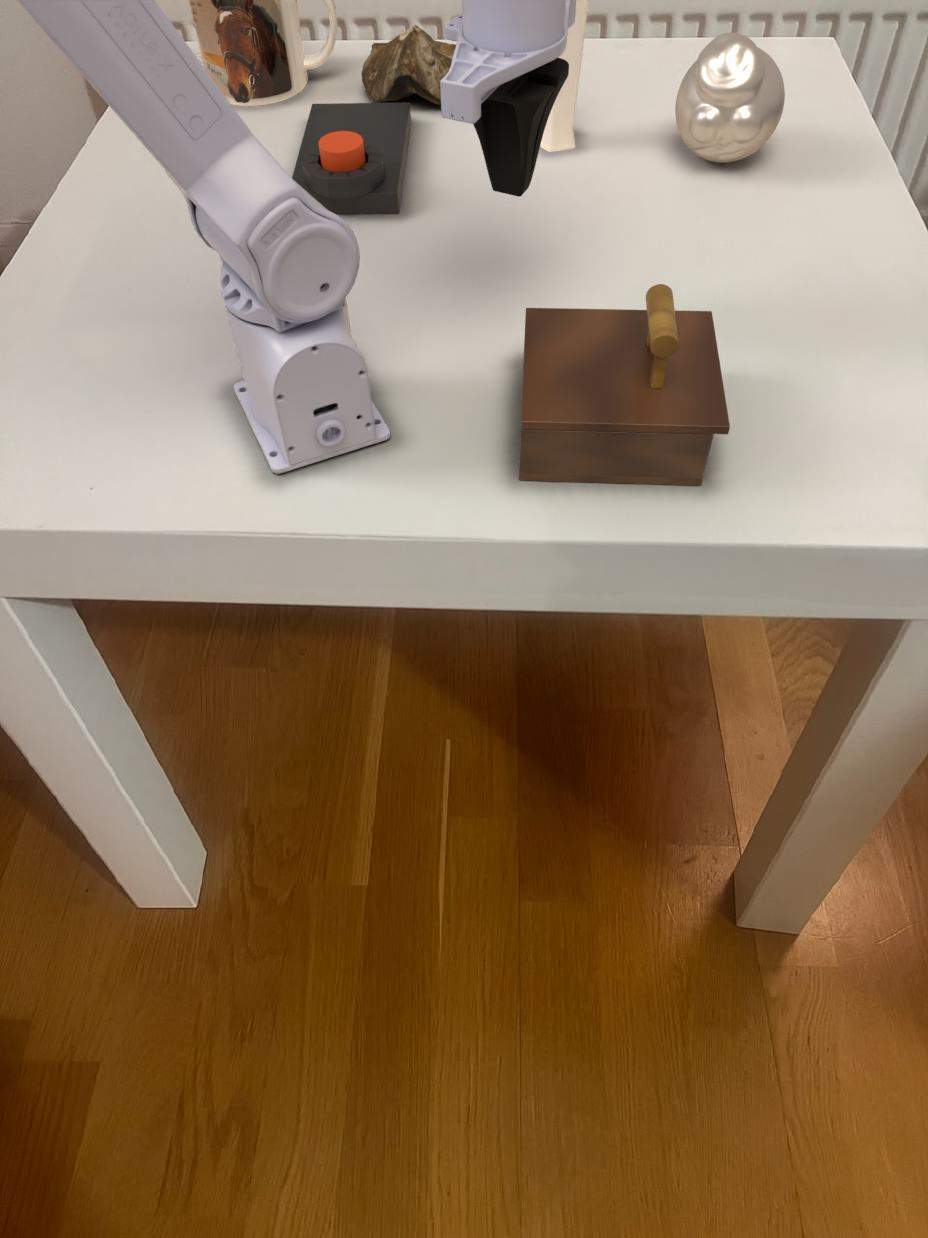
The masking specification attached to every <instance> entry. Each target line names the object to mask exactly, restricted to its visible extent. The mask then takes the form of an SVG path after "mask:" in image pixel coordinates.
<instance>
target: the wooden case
mask: <svg viewBox="0 0 928 1238" xmlns="http://www.w3.org/2000/svg"><path fill="white" fill-rule="evenodd" d="M714 435H715V434H693V433H655V432H617V431H579V430H541V429H521V428H520V436H519V439H520V440H519V467H518V480H519V481H529V482H535V481H537V482H568V483H569V482H570V483H599V484H601V483H603V484H630V485H631V484H635V485H638V484H639V485H665V486H667V485H670V486H702V485H703V480H704V476H705V471H706V468H707V464H708V460H709V457H710V452H711V448H712V443H713V440H714Z"/></svg>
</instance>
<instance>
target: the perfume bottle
mask: <svg viewBox="0 0 928 1238" xmlns="http://www.w3.org/2000/svg"><path fill="white" fill-rule="evenodd" d="M589 4H590V0H576V13H575V23H574V24H573V25H572V26H571V27H570V28H568V34H567V45H566V49H565V50H564V52H563V53H562V54H561V55H560V56H559V57H558V58H561V59H564V60H566V61H567V62H568V63H569V74H568V77H567V79H566V81H565V82H564V84H563V86H562V88H561V90H560V92H559V94H558V96H557V98H556V100H555V102H554V105H553V107H552V110H551V112H550V115H549V117H548V120H547V123H546V126H545V130H544V133H543V137H542V141H541V144H540V148H542V149H543V150H545V151H547V152H549V153H553V152H559V151H566V150H571V149H575V148H576V139H575V138H576V137H575V131H574V122H575V115H576V114H575V113H576V107H577V100H578V99H577V98H578V92H579V89H578V88H579V84H580V83H579V82H580V75H581V68H582V59H583V51H584V44H585V36H586V29H587V20H588V13H589Z"/></svg>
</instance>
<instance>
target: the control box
mask: <svg viewBox="0 0 928 1238" xmlns="http://www.w3.org/2000/svg"><path fill="white" fill-rule="evenodd" d="M411 127H412V114H411V103H410V102H352V103H350V102H349V103H348V102H346V103H341V102H340V103H338V102H337V103H333V102H332V103H312V104H311V108H310V111H309V114H308V118H307V121H306V125H305V129H304V133H303V136H302V140H301V143H300V147H299V151H298V155H297V159H296V162H295V166H294V168H293V169H294V170H293V172H292V175H291V178H292V179H293V180H294V181H295V182H296V183H298V184H299V185H300V186H301V187H302V188H303V189H304V190H306V191H307V192H308V193H309V194H310V195H311V196H312V197H313V198H315V199H316V200H317V201H318V202H319V203H320V204H321V205H323V206H324V207H325V208H326V209H327V210H328V211H330V212H332V213H334V214H336V215H338V216H355V215H356V216H357V215H359V216H360V215H361V216H365V215H366V216H367V215H371V216H372V215H375V216H377V215H400V213H401V212H400V211H401V205H402V204H401V203H402V198H403V197H402V196H403V188H404V183H405V182H404V180H405V174H406V173H405V172H406V166H407V165H406V164H407V158H408V152H409V151H408V150H409V142H410V135H411ZM337 131H350V132H355V133H357V134H359V135H360V136H361V137H362V138H363V142H364V152H365V164H364V165H363V166H362V167H360V168H358V169H354V170H351V171H347V172H332V171H329V170H326V169H324V168H323V167H322V165H321V158H320V151H319V140H320V139H321V138H322V137H323V136H325V135H326V134H329V133H332V132H337Z"/></svg>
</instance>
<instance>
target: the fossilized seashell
mask: <svg viewBox="0 0 928 1238" xmlns="http://www.w3.org/2000/svg"><path fill="white" fill-rule="evenodd" d="M455 48H456V44H454V43H448V42H443V41H438V40H435V39H433V38H432V36H431V35H429V34H428V33H427V32H426V30H424V29H422V28H420V26H418V25H417V24H413V25H411V26H410V27H409V28H407V29H406V30H404V31H402V32H401V33H399V34H398V35H397V36H395V37H394V38H392V39H391V40H389V41H388V42H373V43H372V44H371V50H370V53H369V55H368V57H367V58H366V59H365V61H364V63H363V66H362V70H361V82H362V85H363V87H364V90H365V93H366V94H367V95H368V97H369V98H370V99H372V101H374V102H376V103H385V102H396V101H399V100H401V99H405V98H408V97H409V96H410V97H411V96H412V95H415V94H417V95H418V96H419V97H421V98H422V99H425V100H427V101H429V102H430V103H432V104H434V105H438V106H441V88H440V81H441V80H442V79H443V78H444V77H445V76H446V74H447V73H448V71H449V69H450V67H451V63H452V59H453V55H454V51H455Z"/></svg>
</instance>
